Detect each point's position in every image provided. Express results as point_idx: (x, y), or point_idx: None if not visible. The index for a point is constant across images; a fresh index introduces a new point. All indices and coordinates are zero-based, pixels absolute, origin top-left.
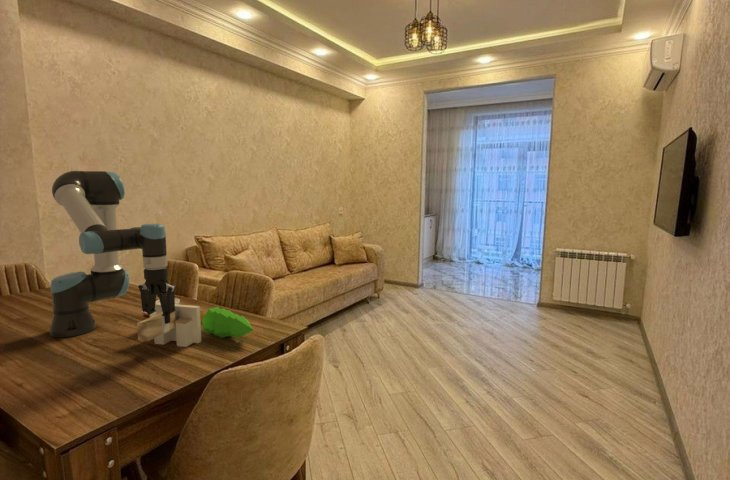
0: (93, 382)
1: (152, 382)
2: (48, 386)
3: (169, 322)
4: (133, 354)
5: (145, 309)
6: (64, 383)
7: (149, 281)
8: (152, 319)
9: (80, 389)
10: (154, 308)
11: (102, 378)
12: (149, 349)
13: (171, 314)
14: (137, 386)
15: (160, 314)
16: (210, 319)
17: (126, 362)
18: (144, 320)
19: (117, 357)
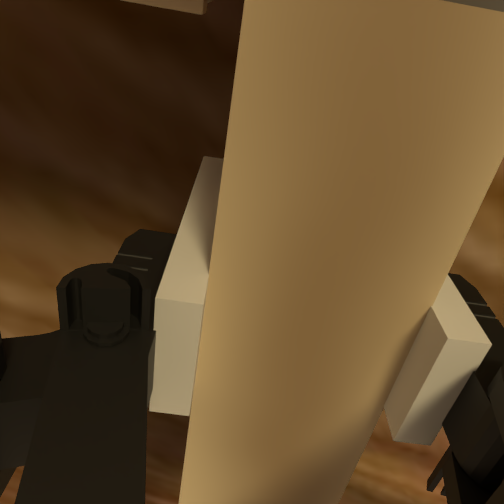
0: (160, 452)
1: (406, 445)
2: (16, 475)
3: (456, 284)
4: (110, 206)
5: (4, 478)
6: None
7: None
8: (282, 460)
9: (155, 484)
10: (146, 396)
11: (170, 430)
12: (164, 113)
13: (484, 161)
14: (358, 466)
15: (277, 260)
16: None
17: None
18: (195, 488)
19: (43, 252)
